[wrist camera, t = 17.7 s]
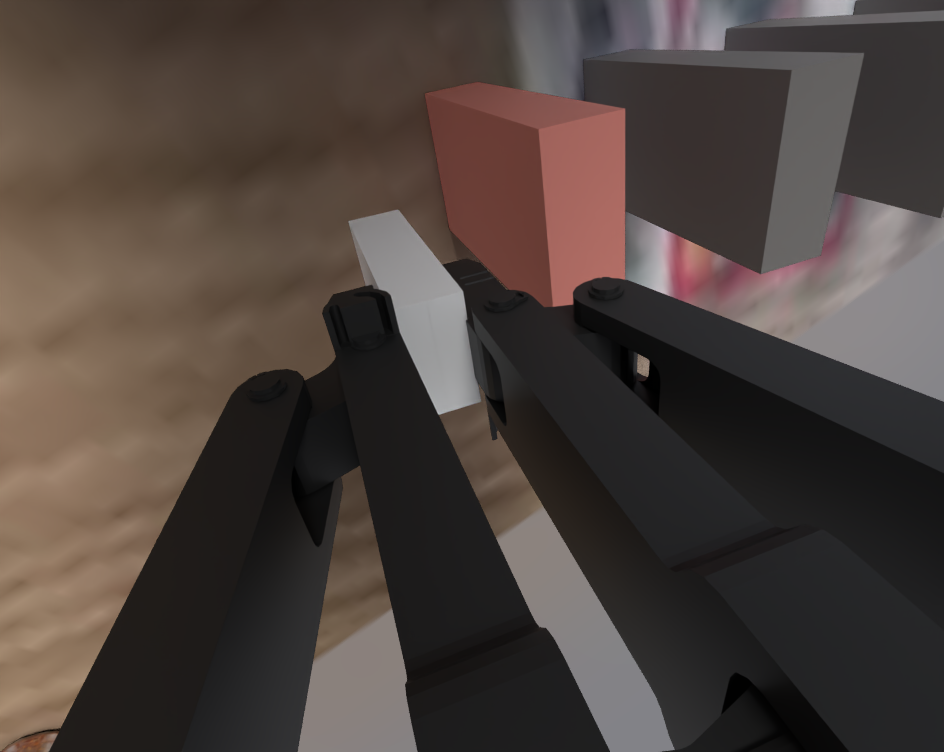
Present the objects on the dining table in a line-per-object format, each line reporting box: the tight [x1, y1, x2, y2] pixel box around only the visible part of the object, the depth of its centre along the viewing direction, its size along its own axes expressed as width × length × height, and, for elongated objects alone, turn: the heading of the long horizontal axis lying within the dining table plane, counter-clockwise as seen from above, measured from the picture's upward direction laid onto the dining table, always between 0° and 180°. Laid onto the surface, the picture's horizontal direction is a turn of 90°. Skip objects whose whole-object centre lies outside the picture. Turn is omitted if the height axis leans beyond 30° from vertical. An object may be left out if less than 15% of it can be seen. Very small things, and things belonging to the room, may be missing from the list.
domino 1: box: [583, 49, 864, 274], centre depth 21 cm, size 2×6×12 cm, turn 9°
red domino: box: [425, 82, 625, 307], centre depth 20 cm, size 2×6×12 cm, turn 9°
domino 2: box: [725, 10, 944, 218], centre depth 23 cm, size 2×6×12 cm, turn 9°
